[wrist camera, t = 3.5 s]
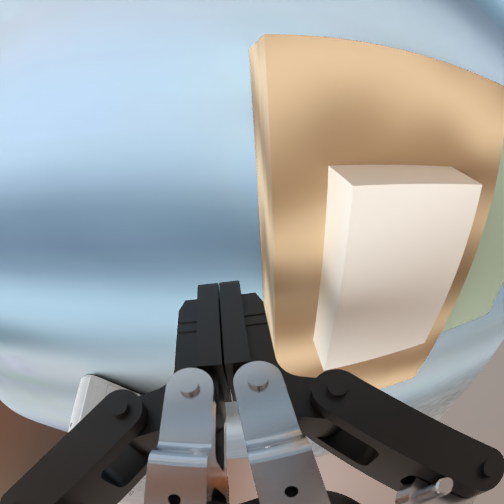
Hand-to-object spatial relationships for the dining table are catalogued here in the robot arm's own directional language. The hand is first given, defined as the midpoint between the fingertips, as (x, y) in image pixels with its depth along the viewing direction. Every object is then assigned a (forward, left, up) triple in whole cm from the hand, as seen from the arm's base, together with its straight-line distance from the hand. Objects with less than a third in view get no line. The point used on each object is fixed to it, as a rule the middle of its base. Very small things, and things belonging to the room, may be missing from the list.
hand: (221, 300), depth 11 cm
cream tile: (0, +7, -1) cm, 7 cm away
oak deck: (+2, +8, -5) cm, 10 cm away
